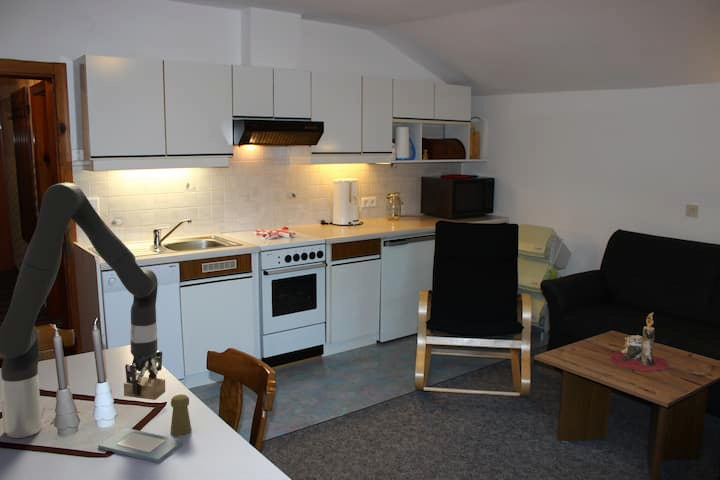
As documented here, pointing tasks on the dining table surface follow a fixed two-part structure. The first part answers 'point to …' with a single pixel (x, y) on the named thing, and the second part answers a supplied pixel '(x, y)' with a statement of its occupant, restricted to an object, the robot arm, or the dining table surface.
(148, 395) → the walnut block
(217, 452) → the dining table surface
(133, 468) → the dining table surface
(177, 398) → the olive pawn
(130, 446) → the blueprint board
